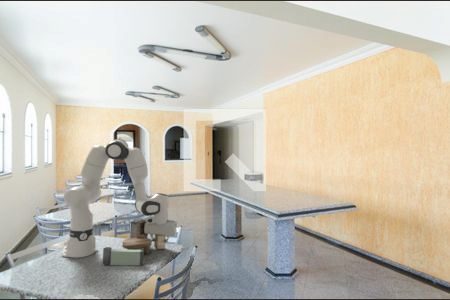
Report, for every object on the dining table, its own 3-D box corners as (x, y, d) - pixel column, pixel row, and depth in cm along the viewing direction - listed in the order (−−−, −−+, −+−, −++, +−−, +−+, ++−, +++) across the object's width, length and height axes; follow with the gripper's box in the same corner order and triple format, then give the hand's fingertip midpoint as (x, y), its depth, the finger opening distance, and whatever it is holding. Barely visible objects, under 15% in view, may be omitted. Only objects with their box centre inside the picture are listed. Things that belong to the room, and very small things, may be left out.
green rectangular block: (101, 265, 144) (102, 249, 144) (104, 262, 148) (105, 247, 148) (141, 265, 145) (142, 250, 145) (143, 262, 149) (144, 247, 149)
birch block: (154, 247, 174) (154, 234, 174) (161, 245, 177) (162, 233, 177) (157, 249, 170) (158, 236, 170) (164, 248, 173) (165, 235, 173)
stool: (118, 253, 162) (119, 239, 162) (145, 249, 171) (145, 235, 172) (127, 262, 149) (127, 247, 149) (155, 257, 159) (156, 243, 159)
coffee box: (141, 244, 181) (142, 219, 181) (147, 246, 177) (148, 220, 177) (129, 247, 173) (130, 221, 173) (135, 249, 169) (136, 223, 170)
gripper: (178, 219, 175) (177, 241, 175) (147, 217, 178) (146, 238, 178) (175, 221, 169) (174, 244, 169) (143, 219, 172) (142, 241, 171)
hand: (159, 241), depth 173 cm, fingers closed on birch block, 7 cm apart
